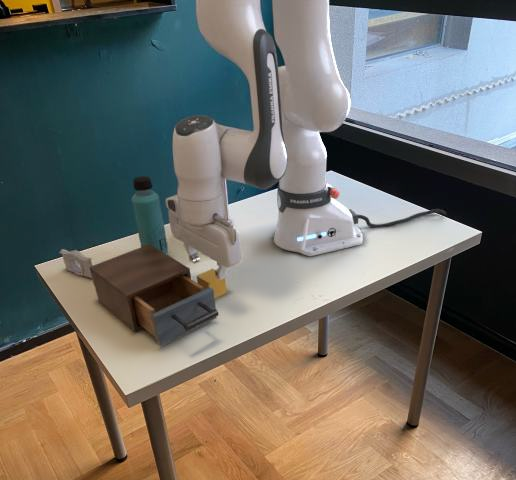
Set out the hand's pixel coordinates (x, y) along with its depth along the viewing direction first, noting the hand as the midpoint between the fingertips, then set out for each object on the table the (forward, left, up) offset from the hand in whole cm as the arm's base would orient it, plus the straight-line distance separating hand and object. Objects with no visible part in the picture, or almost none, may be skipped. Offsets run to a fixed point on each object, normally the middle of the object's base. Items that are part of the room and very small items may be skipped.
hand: (207, 269), depth 109 cm
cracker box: (-6, -30, -6) cm, 31 cm away
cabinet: (+14, 0, -6) cm, 15 cm away
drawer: (+8, +10, -5) cm, 14 cm away
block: (-1, 0, -6) cm, 6 cm away
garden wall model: (+28, -16, -6) cm, 33 cm away
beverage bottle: (+11, -20, -6) cm, 23 cm away
